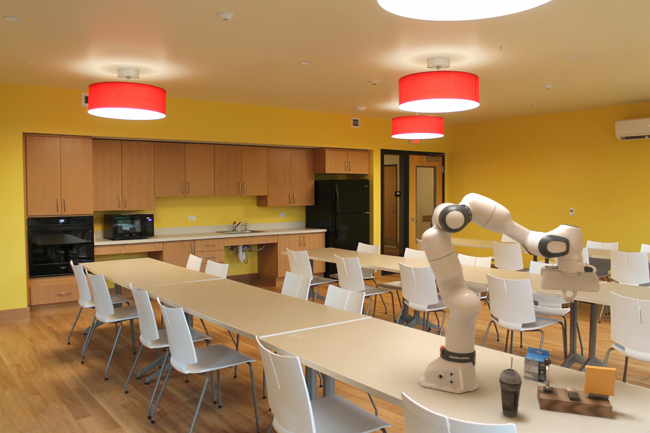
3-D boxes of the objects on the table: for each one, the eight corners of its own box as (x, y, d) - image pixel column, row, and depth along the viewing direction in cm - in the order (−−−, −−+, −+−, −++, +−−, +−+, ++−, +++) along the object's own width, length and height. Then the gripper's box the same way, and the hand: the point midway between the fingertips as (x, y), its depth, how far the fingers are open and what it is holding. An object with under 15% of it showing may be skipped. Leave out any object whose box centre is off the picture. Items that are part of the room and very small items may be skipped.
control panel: (540, 409, 171) (540, 394, 171) (537, 396, 182) (537, 382, 182) (612, 418, 164) (612, 403, 163) (604, 404, 175) (604, 389, 175)
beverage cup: (516, 410, 170) (516, 352, 170) (525, 419, 163) (526, 359, 162) (495, 410, 170) (495, 353, 169) (503, 419, 163) (504, 360, 162)
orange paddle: (584, 396, 171) (586, 367, 168) (583, 393, 173) (585, 364, 170) (613, 400, 168) (616, 370, 165) (612, 397, 170) (614, 367, 167)
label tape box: (523, 378, 200) (523, 348, 200) (527, 375, 203) (527, 346, 203) (545, 383, 194) (546, 353, 194) (549, 381, 197) (550, 350, 197)
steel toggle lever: (543, 391, 174) (543, 357, 178) (543, 391, 177) (542, 357, 180) (553, 392, 173) (552, 357, 177) (552, 392, 176) (551, 358, 179)
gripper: (541, 266, 190) (540, 301, 191) (601, 268, 183) (600, 305, 184) (539, 264, 196) (539, 298, 197) (597, 266, 189) (597, 302, 190)
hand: (569, 302), depth 190 cm, fingers closed
